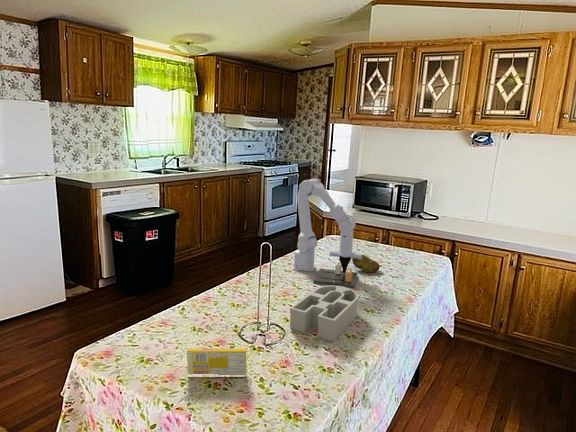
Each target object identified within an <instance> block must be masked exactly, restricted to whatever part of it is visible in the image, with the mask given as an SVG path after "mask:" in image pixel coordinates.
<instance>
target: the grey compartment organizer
mask: <svg viewBox="0 0 576 432" xmlns="http://www.w3.org/2000/svg"><path fill="white" fill-rule="evenodd" d="M358 302H359V293H358V292H356V290H354V289H353V288H348V287H343V286H334V285H322V286H318V287H317V288H315V289H314V290H312V291H311V292H310V293H309V294H306V295H305V296H304V297H303V298H301V299H300V300H298V301H297V302H296V303H294V305H292V306H291V307H289V313H290V317H289V318H290V319H289V321H290V322H289V327H290V331H291V330H292V331H291V332H295V333H297V332H298V333H297V334H301V335H305V334H307V333H308V332H309V331H310V330H311V329H312V328H313V329H317V338H318V340H321V341H324V342H328V343H330V344H334V343H335V341H336V340H337V339H338V338H339V337H340V336H341V335H342V334H343V333H344V332H345V331H346V329H347V328H349V326H351V324H352V323H353V322H354V321H355V320H356V317H357V315H358Z"/></svg>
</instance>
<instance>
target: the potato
mask: <svg viewBox="0 0 576 432" xmlns="http://www.w3.org/2000/svg"><path fill="white" fill-rule="evenodd" d="M351 261H352V264H353V266H354V267H355V268H356V269H360V270H361V271H362V272H365V273H375V272H378V271H379V270H380V263H378V262H377V261H376V260H374V259H372V258H370V257H368V256H367V255H365V254H362V258H361V259H356V258H351Z"/></svg>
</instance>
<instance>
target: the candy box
mask: <svg viewBox="0 0 576 432" xmlns="http://www.w3.org/2000/svg"><path fill="white" fill-rule="evenodd" d="M186 358H187V374H188V373H189V374H214V375H215V374H218V375H246V376H247V348H187V351H186Z"/></svg>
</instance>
